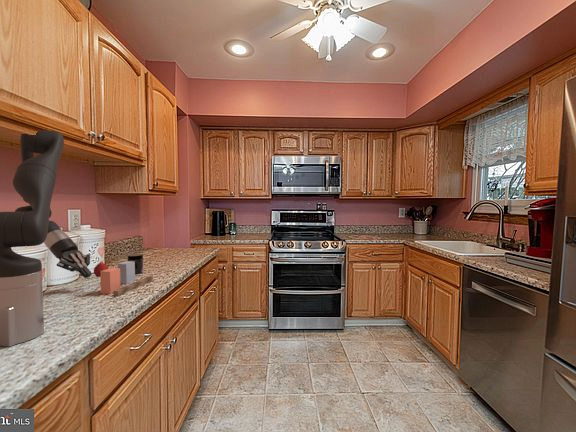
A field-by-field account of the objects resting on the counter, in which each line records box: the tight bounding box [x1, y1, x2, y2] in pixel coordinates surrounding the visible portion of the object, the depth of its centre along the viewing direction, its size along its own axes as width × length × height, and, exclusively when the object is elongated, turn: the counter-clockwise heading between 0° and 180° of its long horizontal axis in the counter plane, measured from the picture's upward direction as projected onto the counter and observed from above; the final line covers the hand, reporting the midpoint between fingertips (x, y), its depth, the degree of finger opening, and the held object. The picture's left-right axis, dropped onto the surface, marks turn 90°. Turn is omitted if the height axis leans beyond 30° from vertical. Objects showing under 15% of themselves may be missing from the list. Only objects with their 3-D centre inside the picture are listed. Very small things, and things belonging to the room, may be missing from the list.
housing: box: [112, 276, 154, 297], centre depth 108 cm, size 20×14×3 cm
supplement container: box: [126, 253, 144, 276], centre depth 129 cm, size 7×7×10 cm
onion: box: [93, 260, 110, 277], centre depth 124 cm, size 6×6×8 cm
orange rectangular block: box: [99, 267, 122, 295], centre depth 102 cm, size 5×4×8 cm
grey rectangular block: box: [117, 260, 136, 285], centre depth 114 cm, size 5×4×8 cm
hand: (88, 276), depth 103 cm, fingers closed
